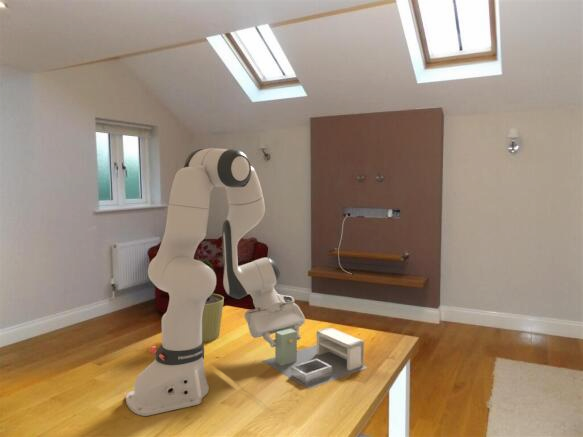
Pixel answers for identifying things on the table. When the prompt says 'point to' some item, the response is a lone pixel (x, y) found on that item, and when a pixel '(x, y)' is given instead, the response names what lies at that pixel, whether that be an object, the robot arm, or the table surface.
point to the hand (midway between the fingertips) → (286, 342)
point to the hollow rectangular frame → (306, 378)
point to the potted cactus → (212, 314)
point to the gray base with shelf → (328, 356)
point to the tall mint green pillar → (286, 346)
